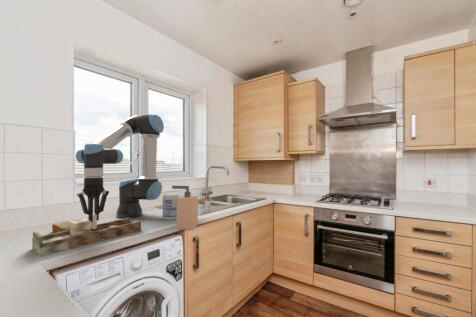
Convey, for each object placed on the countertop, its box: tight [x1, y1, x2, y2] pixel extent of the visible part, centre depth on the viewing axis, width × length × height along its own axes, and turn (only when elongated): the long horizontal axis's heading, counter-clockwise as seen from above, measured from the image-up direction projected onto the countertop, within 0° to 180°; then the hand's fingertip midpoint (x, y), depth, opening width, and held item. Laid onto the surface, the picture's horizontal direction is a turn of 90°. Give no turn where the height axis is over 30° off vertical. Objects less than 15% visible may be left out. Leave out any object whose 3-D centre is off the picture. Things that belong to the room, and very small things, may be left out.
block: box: [69, 218, 91, 236], centre depth 102 cm, size 6×6×6 cm
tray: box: [31, 218, 142, 257], centre depth 106 cm, size 40×12×7 cm, turn 142°
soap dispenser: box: [171, 185, 199, 231], centre depth 124 cm, size 13×9×22 cm
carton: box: [51, 220, 71, 233], centre depth 114 cm, size 8×16×4 cm, turn 56°
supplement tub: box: [162, 192, 180, 221], centre depth 142 cm, size 10×10×15 cm
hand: (93, 228), depth 106 cm, fingers closed
